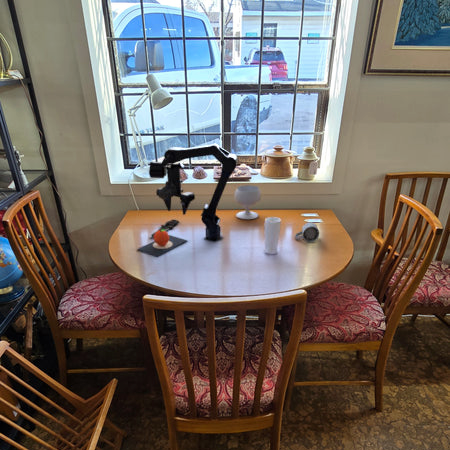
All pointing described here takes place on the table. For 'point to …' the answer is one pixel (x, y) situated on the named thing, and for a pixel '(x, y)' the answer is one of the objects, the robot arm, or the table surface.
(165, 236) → the clementine
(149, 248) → the placemat
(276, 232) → the drinking glass
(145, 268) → the table surface
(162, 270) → the table surface
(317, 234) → the ceramic mug
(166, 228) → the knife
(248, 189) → the chalice
